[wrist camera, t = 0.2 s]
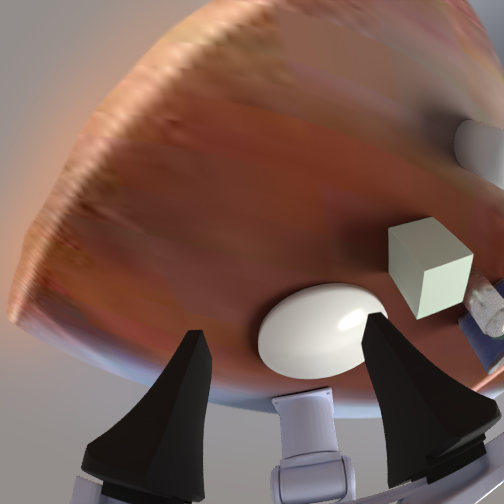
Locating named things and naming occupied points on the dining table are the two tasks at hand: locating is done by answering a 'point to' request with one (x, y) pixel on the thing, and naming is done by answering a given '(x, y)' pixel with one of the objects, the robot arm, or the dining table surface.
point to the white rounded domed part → (481, 150)
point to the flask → (484, 338)
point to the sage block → (428, 265)
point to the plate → (317, 330)
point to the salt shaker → (484, 303)
